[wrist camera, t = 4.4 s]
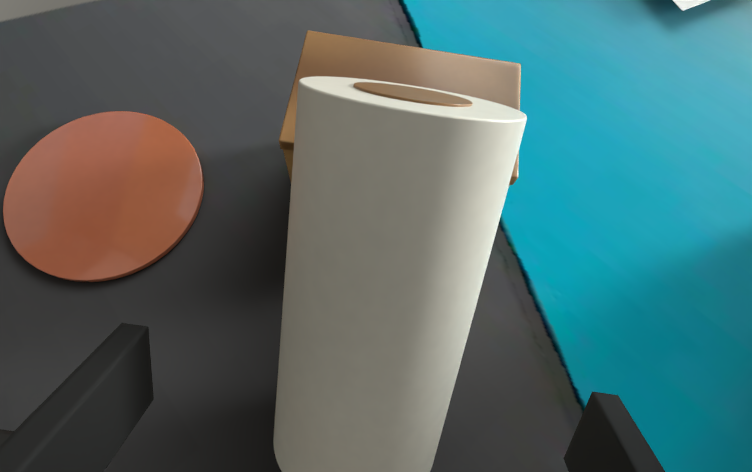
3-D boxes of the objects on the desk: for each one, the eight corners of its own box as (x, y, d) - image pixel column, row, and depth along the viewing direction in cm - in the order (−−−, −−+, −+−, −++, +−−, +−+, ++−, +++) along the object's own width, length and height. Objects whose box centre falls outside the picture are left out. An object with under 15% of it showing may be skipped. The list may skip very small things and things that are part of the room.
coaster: (160, 89, 29) (158, 85, 29) (235, 222, 26) (233, 219, 26) (-17, 162, 27) (-22, 158, 26) (43, 320, 24) (38, 318, 23)
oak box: (467, 247, 27) (518, 178, 19) (298, 220, 27) (277, 140, 19) (473, 157, 29) (521, 63, 21) (317, 133, 29) (306, 29, 21)
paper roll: (419, 501, 22) (566, 685, 7) (272, 479, 22) (122, 619, 7) (445, 211, 28) (557, -14, 13) (329, 193, 27) (310, -53, 13)
